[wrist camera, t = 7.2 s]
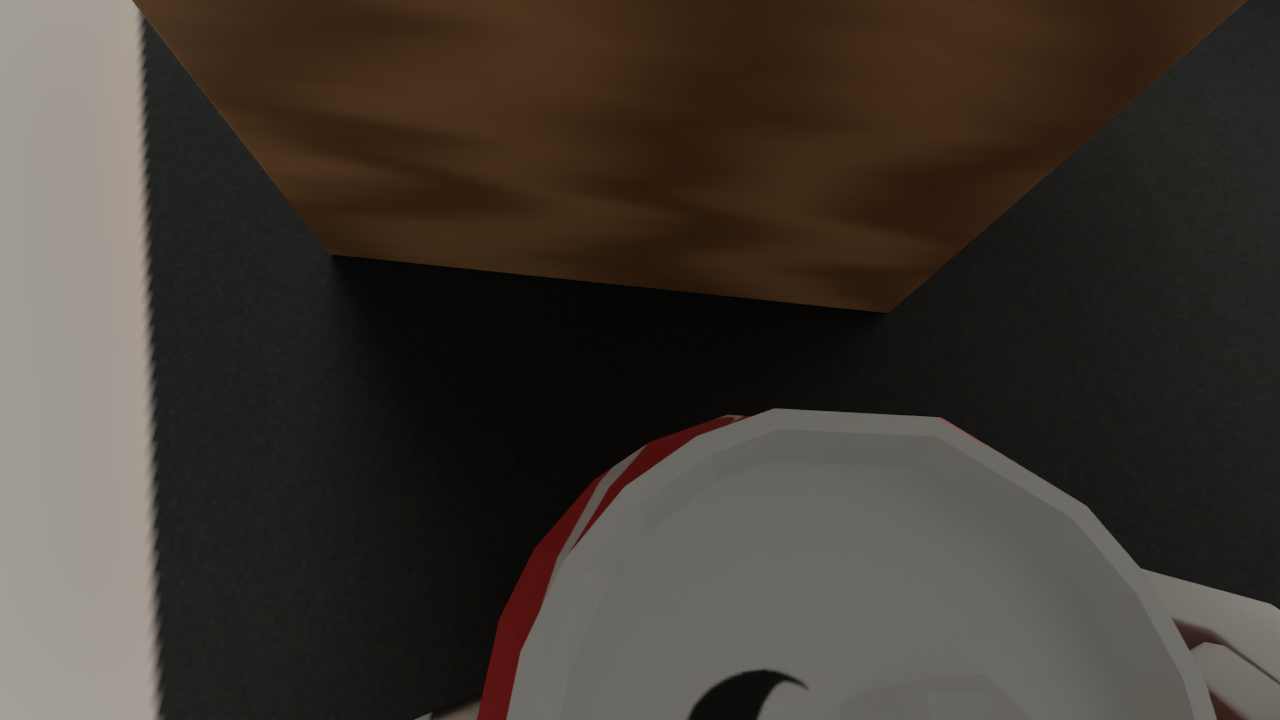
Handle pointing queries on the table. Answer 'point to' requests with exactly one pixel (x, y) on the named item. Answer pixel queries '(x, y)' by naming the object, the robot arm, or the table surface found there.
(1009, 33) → the wooden planter base
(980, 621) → the soda can
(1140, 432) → the table surface
